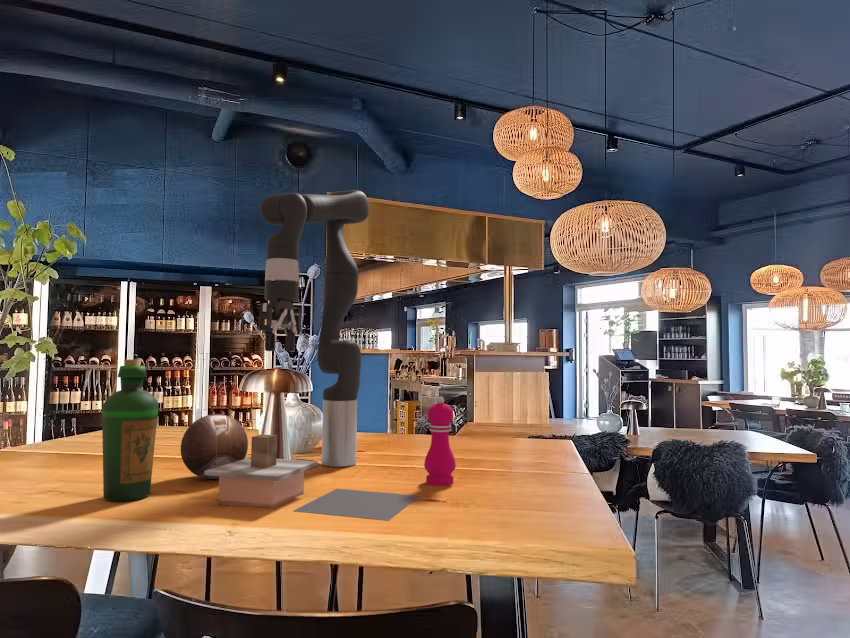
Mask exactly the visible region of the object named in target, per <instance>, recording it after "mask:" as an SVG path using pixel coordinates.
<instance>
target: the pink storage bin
mask: <svg viewBox="0 0 850 638" xmlns="http://www.w3.org/2000/svg"><path fill="white" fill-rule="evenodd" d="M304 492H305V470H304V471H302V472H299V473H297V474H294V475H292V476H289V477H287V478H284V479H281V480H279V481H272V480H260V479H248V478H235V477H223V476H219V478H218V502H217V504H218V506H226V507H229V506H231V505H233V506H234V505H235V506H244V507H253V508H255V507H256V508H265V509H275V508H277V507H279V506H281V505H283V504H286V503H287V502H290V501H292V500H294V499H296V498H298V497H301V496H302V495H304V494H305V493H304Z"/></svg>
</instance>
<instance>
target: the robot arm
mask: <svg viewBox="0 0 850 638" xmlns="http://www.w3.org/2000/svg"><path fill="white" fill-rule="evenodd" d="M259 212H260V216H261V218H262V219H263V220H264V222H266V223H267V224H269V225H271V226H282V227H281V229H280V230H279V231H278V232H276V233H273V234H271V235H270V236H268V239H267V244H266V263H265V269H264V270H265V272H264V275H265V277H264V278H265V279H264V300H265V301H266V302H263V303H262V302H261V303H260V305H259V314H258V330H259V331H261V332H262V333H263V334H264V350H265V352H274V351H276V341H277V340H276V338H277V337H276V336H277V335H276V332H277V330H278V329H279V327H281V328H282V329H283V331H284V334H285V340H284V341H285V342H284V351H285V352H294V351H295V350H296V336H297V334H298V333H299V334H300V333H301V332H302V315H301V314H302V308H301V307H294V303H295V302H298V301H299V295H300V294H299V291H300V290H299V288H300V286H299V284H300V268H299V246H300V245H299V244H300V241H301V238H302V234H303V230H304V227H305V224H313V223H315V224H316V223H321V222H325V227H326V228H325V229H326V252H325V253H326V257H325V267H324V268H325V270H324V283H323V286H324V287H323V306H322V308H323V309H322V320H321V325H320V326H321V327H320V333H319V338H318V346H317V364H318V368H319V370H320V371H321V372H322V373H323V374H326V375H338V377H337V381H336V382H335V383H334V384H333V385H331V386H329V387H325V388H324V389H323V390H322V391H323V392H322V422H321V423H322V424H321V425H322V427H321V428H322V431H321V465H323V466H326V467H331V468H334V467H336V468H337V467H339V468H340V467H350V466H354V465H356V464H357V438H358V437H357V435H358V432H357V431H358V430H357V429H358V426H357V425H358V422H357V421H358V393H359V390H360V386H361V372H362V371H361V370H362V369H361V368H362V367H361V366H362V352H361V351H362V350H361V348H360V346H359V344H358V343H357V342H356V341H355V340H343V339H342V340H340V336H341V335H340V334H341V328H342V325H343V322H344V320H345V317H346V316H347V314H348V313H349V311H350V309H351V307H352V306H353V303H354V302H355V300H356V298H357V295H358V291H359V290H358V289H359V288H358V287H359V268H358V266H357V264H356V261H355V259H354V258H353V256H352V255H351V252H350V250H349V249H348V247H347V244H346V241H345V236H344V235H345V233H344V229H345V228H344V227H345V225H352V224H360V223H363V222H364V221H366V219H367V218H368V217H369V214H370V213H369V212H370V203H369V199H368V196H367V195H366V194H365V193H364V192H363V191H361V190H357V189H351V190H350V189H349V190H340V191H332V192H330V194H318V193H314V194H313V193H302V194H299V193H297V192H287V193H286V192H285V193H280V194H279V193H277V194H271V195H270V194H269V195H268V196H266V197H265V198H263V200H262V202H261V203H260V206H259ZM267 301H268V302H267Z"/></svg>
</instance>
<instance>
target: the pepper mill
mask: <svg viewBox="0 0 850 638" xmlns="http://www.w3.org/2000/svg"><path fill="white" fill-rule="evenodd" d="M453 419H454V411H453V408H452V407H451V406H450V405H448V404H446V403H445V399H444V397H443V396H438V397H437V399H436V403H435V404H432V405H431V406H429V409H428V410H427V420H428V421H429V423H430V424H429V431H430V433H431V442H430V445H429V446H430V447H429V449H428V451H427V453H426V456H425V459H424V464H423V467H424V469H425V471H426V472H427V475H426V477H425V478H426V479H425V483H426V484H428V485H432V486H443V487H445V486H450V485H453V484H454V476H453V475H452V473H453V472H454V471H455V470H456V459H455V456H454V453H453V452H452V448H451V445H450V437H449V435H450V432H452V425H451V424H450V423H451V422H452V421H453Z"/></svg>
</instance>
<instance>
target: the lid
mask: <svg viewBox="0 0 850 638" xmlns="http://www.w3.org/2000/svg"><path fill="white" fill-rule="evenodd" d="M250 449H251V451H250V457H247V458H246V457H245V459H243V460H240V461H236V462H233V463H229V464H226V465H222V466H219V467H216V468H212V469H209V470H205V471H204V475H211V476H223V477H235V478H248V479H260V480H272V481H279V480H281V479H284V478H287V477H289V476H292V475H294V474H297V473H299V472H302V471H304V472H305V471H307V470H310V469H312V468H314V467H317V466H318V463H319V462H318V461H316V460H300V459H288V458H287V459H285V458H277V454H278V453H277V451H278V450H277V449H278V435H277V434H264V433H263V434H258V435H253V436H251V448H250Z"/></svg>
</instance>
